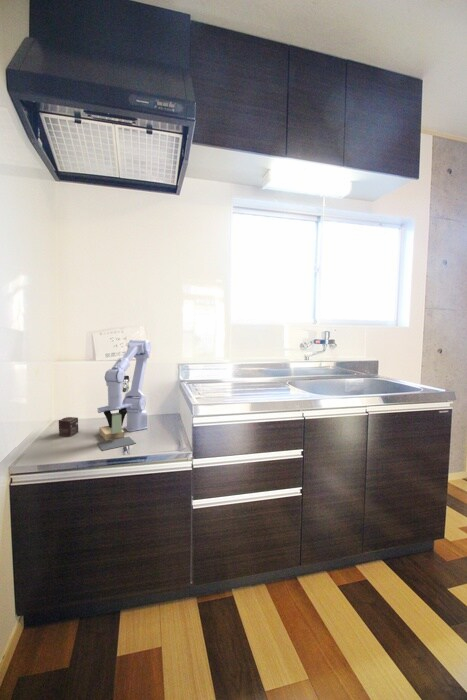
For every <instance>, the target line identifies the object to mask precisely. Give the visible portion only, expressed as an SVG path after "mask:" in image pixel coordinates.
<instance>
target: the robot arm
mask: <svg viewBox="0 0 467 700" xmlns="http://www.w3.org/2000/svg"><path fill="white" fill-rule="evenodd" d="M151 350H152V346H151V342H150V340H148V339H146V340H143V339H142V340H141V339H138V340H137V339H129V341H128V343H127V350H126V351H125V353H124V354H123V356H122V357H119V358H118V359H117V361H116V362H115V363H114V365H113V366H112V367H111V368H109V369H108V370H106V371H105V375H104V380H105V383H106V386H107V400H108V402H107V405H106V406H101V407H97V413H98V414H102V413H103V415H104V416H105V418H106V421H107V423H108V426H109V427H110V428H112V421H111V420H112V412H113V411H114V412H115V411H118V412H119V413H120V414H121V419H122V426H123V424H124V421H125V418H126V425H125V426H124V427H123V428H124V429H125V430H126V431H128V432H129V433H130V432H131V433H132V432H136V431H141V430H146V429H148V413H147V412H148V411H147V410H146V409H145V408H146V397H147V396H146V395H145V394H144V393H143V392H142V388H143V384H144V378H145V373H146V367H147V362H148V359H149V358H150V355H151ZM133 358H134V359H135V365H134V371H133V376H132V381H131V387H130V390H128V392H126V393H125V395H124V398H123V397H122V396H123V390H122V386H123V385H122V382H123V381H124V380H125V375H126V371H127V370H128V368H129V367H130V365H131V364H130V362H131V360H132V359H133Z"/></svg>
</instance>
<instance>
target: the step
mask: <svg viewBox="0 0 467 700" xmlns="http://www.w3.org/2000/svg"><path fill="white" fill-rule="evenodd" d="M98 428H99V432H98V433H99V434H100V437H102V438H103V440H104V441H109V440H114V439H119V438H125V430H124V429H122V432H120V433H115V434H112V433H111V432H110V427H109V425H105V426H99V427H98Z"/></svg>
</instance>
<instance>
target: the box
mask: <svg viewBox="0 0 467 700" xmlns="http://www.w3.org/2000/svg"><path fill="white" fill-rule="evenodd" d="M78 433H79V417H74V416H73V417H71V416H66V417H63V418H62V419H61V418H60V419H59V420H58V435H59V436H61V437H72V436H75V435H76V434H78Z"/></svg>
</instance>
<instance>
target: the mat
mask: <svg viewBox="0 0 467 700" xmlns="http://www.w3.org/2000/svg"><path fill="white" fill-rule="evenodd" d="M96 444H97V446H98V447H99V448H100V450H101V451H102V452H103V451H107V450H108V451H109V450H112V449H118V448H123V447H128V446H133V445H136V444H137V442H136V441H135V440H134V439H132V438H131V437H130V436H126V437H125V436H124V438H119V439H114V440H109V441H105V440H104V441H100V442H96Z"/></svg>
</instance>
